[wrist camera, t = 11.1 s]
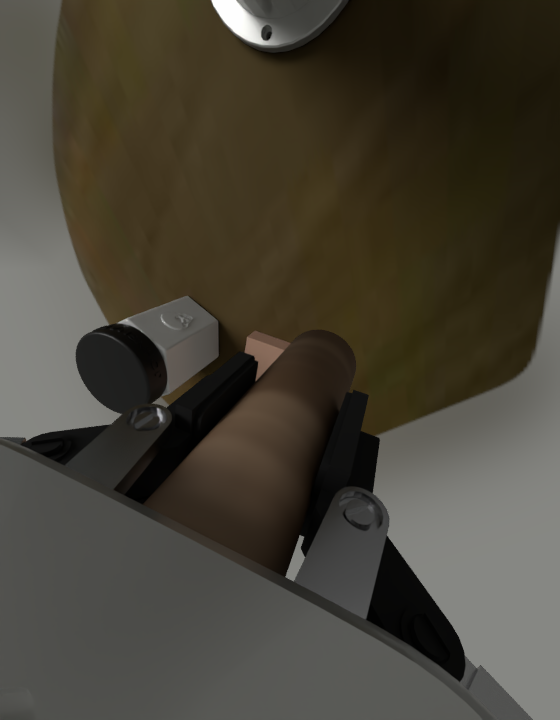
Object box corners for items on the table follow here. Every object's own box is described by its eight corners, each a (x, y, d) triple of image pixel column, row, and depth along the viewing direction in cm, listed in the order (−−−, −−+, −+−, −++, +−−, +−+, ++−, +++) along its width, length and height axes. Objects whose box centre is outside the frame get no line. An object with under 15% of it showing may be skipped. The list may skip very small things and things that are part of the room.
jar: (235, 331, 36) (165, 378, 26) (205, 377, 40) (136, 433, 30) (174, 281, 36) (81, 308, 26) (151, 332, 40) (63, 373, 30)
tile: (247, 336, 33) (232, 423, 39) (319, 362, 32) (292, 449, 37) (256, 329, 35) (241, 413, 41) (325, 353, 34) (298, 437, 39)
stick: (294, 321, 15) (45, 550, 5) (365, 342, 14) (251, 673, 4) (281, 381, 17) (74, 651, 6) (344, 403, 16) (225, 753, 6)
